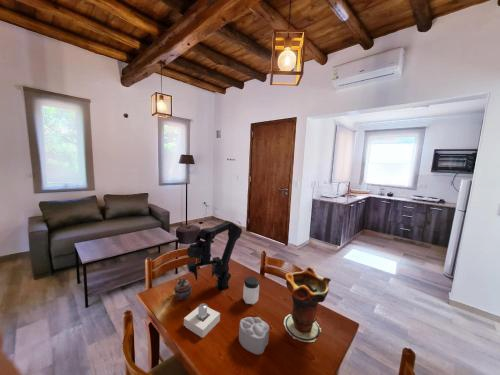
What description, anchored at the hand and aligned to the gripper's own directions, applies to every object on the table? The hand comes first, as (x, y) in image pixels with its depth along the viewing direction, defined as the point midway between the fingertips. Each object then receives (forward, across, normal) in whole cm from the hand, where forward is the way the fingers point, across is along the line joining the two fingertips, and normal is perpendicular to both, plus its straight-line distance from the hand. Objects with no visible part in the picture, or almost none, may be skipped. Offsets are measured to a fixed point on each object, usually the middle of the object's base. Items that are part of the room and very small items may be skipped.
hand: (204, 278), depth 114 cm
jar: (+13, -24, +12) cm, 30 cm away
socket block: (+12, +6, +17) cm, 22 cm away
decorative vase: (+13, -37, +40) cm, 56 cm away
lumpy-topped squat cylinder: (+13, -11, +36) cm, 40 cm away
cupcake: (+13, +10, -7) cm, 18 cm away
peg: (+12, +6, +17) cm, 22 cm away
